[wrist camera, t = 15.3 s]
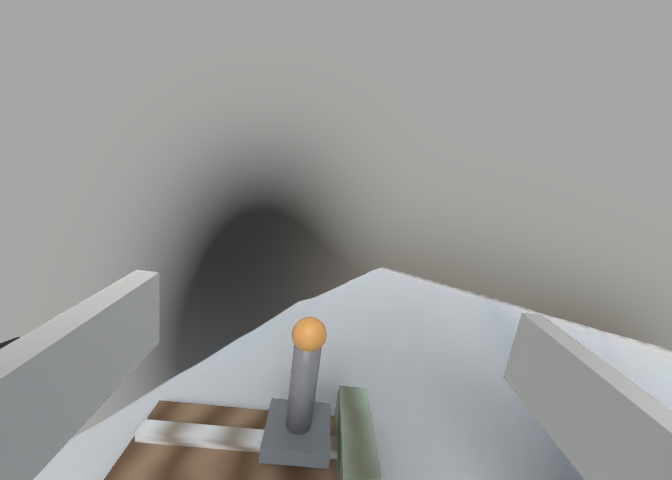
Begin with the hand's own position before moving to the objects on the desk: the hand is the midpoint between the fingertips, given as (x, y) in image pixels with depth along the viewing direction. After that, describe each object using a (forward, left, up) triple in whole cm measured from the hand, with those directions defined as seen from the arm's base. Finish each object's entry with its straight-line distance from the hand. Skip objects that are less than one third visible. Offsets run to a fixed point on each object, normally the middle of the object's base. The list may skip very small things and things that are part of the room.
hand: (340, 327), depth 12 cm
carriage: (+1, -24, -30) cm, 38 cm away
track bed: (+6, -24, -32) cm, 40 cm away
